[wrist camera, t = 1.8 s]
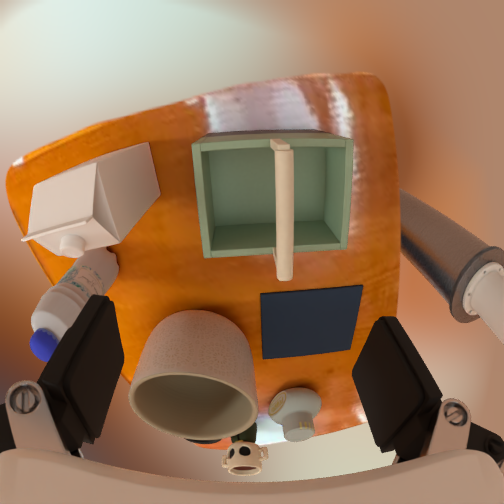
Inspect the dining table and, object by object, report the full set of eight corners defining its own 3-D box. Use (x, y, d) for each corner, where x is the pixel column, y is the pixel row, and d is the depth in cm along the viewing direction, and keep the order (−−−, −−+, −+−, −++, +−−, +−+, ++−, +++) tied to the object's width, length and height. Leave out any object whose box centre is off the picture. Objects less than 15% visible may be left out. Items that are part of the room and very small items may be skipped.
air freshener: (289, 377, 53) (297, 419, 44) (323, 384, 55) (334, 424, 46) (262, 405, 57) (266, 445, 48) (295, 412, 59) (301, 448, 50)
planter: (246, 288, 43) (250, 367, 30) (257, 365, 51) (263, 437, 37) (137, 298, 43) (107, 371, 30) (167, 371, 51) (154, 439, 37)
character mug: (257, 410, 58) (261, 461, 46) (270, 423, 61) (275, 470, 49) (214, 421, 59) (213, 469, 48) (229, 433, 62) (230, 478, 51)
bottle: (131, 269, 41) (78, 371, 23) (100, 285, 42) (44, 380, 24) (107, 232, 38) (32, 320, 20) (76, 250, 39) (4, 336, 21)
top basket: (330, 133, 28) (381, 147, 17) (328, 223, 32) (367, 278, 22) (201, 137, 27) (178, 152, 17) (209, 230, 32) (197, 290, 22)
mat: (362, 284, 44) (363, 285, 44) (349, 348, 50) (350, 349, 50) (260, 293, 44) (260, 294, 43) (262, 357, 50) (262, 359, 50)
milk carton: (100, 155, 33) (6, 199, 16) (149, 141, 33) (71, 173, 16) (114, 205, 36) (37, 279, 20) (161, 194, 36) (102, 267, 19)
